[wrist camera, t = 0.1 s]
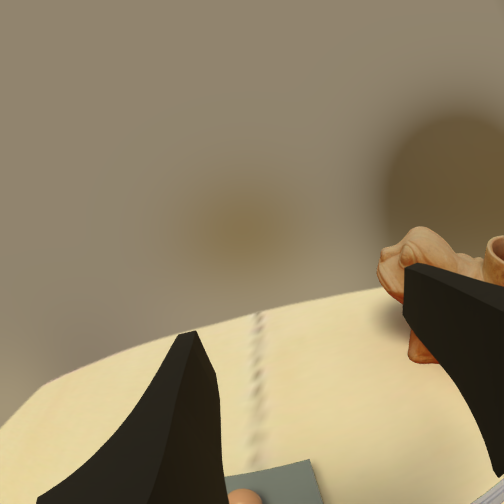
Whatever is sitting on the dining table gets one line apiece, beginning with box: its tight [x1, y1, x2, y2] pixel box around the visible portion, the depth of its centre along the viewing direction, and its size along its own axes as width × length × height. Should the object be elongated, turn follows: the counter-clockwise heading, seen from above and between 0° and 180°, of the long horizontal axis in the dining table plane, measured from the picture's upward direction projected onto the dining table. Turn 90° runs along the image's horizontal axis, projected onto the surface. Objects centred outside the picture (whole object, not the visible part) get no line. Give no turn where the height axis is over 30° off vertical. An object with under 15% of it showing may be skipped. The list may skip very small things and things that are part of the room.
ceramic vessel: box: [377, 226, 504, 364], centre depth 28 cm, size 14×26×15 cm, turn 54°
